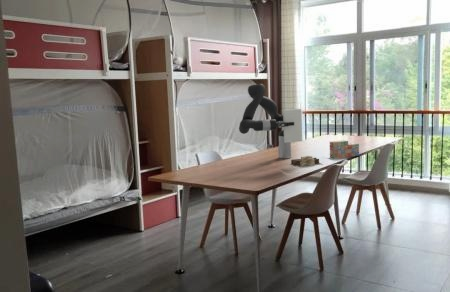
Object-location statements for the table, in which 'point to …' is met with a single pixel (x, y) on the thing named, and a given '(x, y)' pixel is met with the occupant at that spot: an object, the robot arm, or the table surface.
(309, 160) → the offcut stack
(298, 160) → the walnut rack
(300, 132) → the tall board
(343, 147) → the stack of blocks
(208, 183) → the table surface
